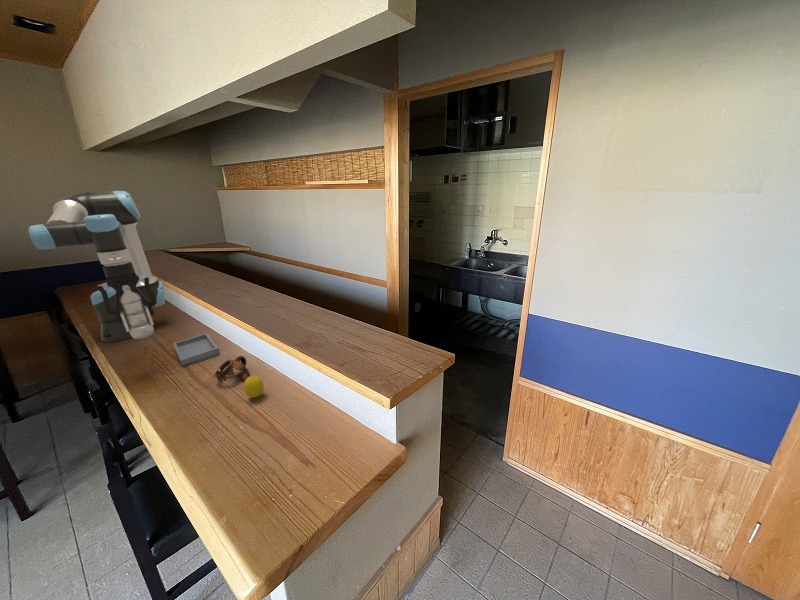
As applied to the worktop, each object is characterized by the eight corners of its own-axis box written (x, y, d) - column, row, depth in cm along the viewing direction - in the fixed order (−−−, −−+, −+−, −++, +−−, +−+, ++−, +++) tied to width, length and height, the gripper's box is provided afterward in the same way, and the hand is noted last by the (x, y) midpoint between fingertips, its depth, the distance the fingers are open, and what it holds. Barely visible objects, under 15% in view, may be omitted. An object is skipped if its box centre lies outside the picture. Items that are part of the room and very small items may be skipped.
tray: (174, 349, 136) (172, 343, 135) (208, 338, 144) (207, 332, 143) (183, 367, 122) (180, 360, 121) (220, 354, 130) (218, 347, 128)
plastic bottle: (128, 340, 112) (107, 286, 105) (147, 331, 118) (129, 280, 111) (140, 342, 110) (119, 287, 103) (159, 333, 116) (141, 281, 109)
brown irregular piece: (245, 387, 108) (226, 372, 104) (226, 395, 111) (207, 381, 107) (259, 361, 118) (242, 346, 114) (241, 369, 121) (224, 356, 117)
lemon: (247, 394, 103) (241, 373, 100) (265, 390, 105) (260, 369, 102) (246, 404, 98) (241, 383, 95) (266, 399, 100) (260, 378, 97)
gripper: (76, 271, 96) (104, 339, 104) (153, 259, 108) (173, 321, 116) (77, 267, 101) (104, 332, 109) (151, 256, 113) (170, 316, 121)
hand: (140, 327), depth 112 cm, fingers closed on plastic bottle, 6 cm apart
